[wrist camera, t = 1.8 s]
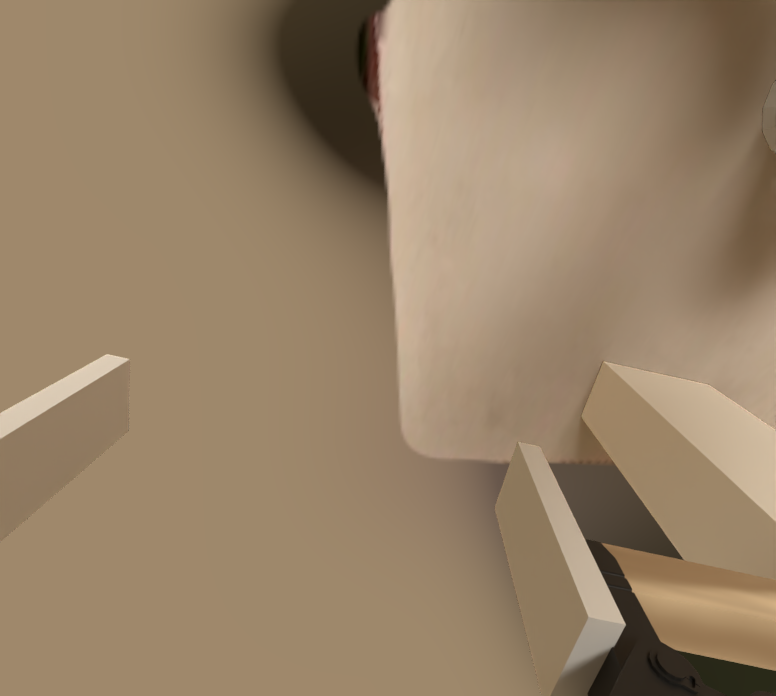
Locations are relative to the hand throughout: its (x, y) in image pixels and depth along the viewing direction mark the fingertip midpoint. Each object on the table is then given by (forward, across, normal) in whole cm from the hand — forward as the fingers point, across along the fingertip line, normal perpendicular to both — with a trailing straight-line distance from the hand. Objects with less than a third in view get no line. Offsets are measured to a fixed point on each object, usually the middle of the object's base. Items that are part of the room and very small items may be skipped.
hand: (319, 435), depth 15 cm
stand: (+35, +32, -9) cm, 48 cm away
